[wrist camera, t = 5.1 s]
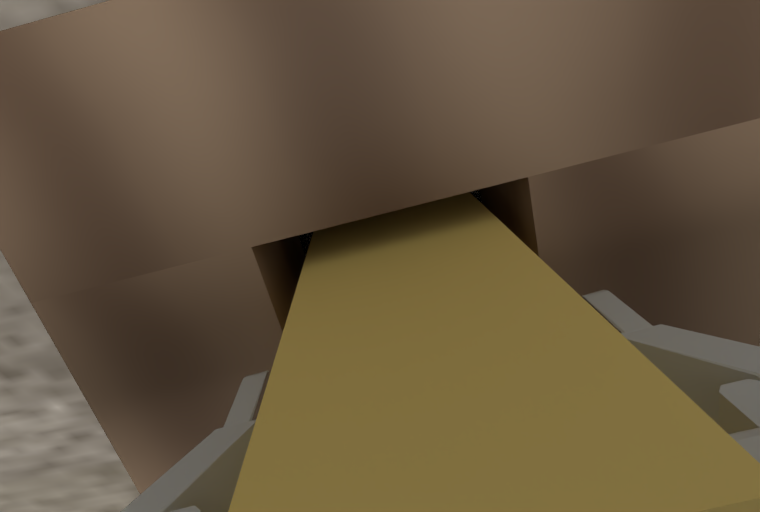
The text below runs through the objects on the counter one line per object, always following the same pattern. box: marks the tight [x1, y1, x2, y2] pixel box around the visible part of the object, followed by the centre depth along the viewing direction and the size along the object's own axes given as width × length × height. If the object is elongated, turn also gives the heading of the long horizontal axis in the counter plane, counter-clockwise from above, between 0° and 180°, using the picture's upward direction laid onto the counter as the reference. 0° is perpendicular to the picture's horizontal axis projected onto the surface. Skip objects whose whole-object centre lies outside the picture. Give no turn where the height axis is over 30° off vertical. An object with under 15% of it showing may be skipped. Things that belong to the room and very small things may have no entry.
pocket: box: [0, 0, 760, 494], centre depth 13 cm, size 16×16×5 cm
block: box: [228, 192, 760, 512], centre depth 10 cm, size 4×4×12 cm
